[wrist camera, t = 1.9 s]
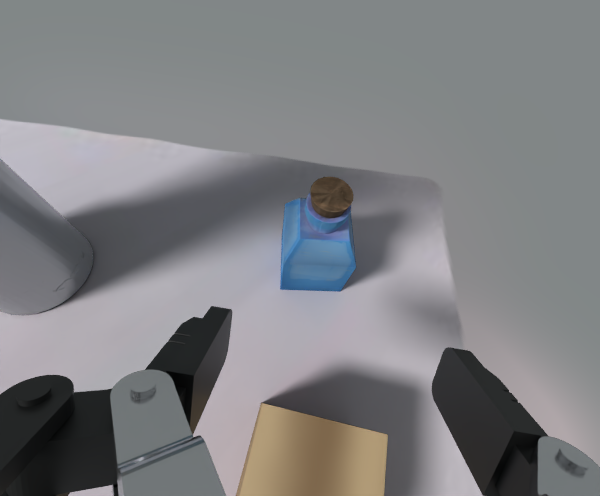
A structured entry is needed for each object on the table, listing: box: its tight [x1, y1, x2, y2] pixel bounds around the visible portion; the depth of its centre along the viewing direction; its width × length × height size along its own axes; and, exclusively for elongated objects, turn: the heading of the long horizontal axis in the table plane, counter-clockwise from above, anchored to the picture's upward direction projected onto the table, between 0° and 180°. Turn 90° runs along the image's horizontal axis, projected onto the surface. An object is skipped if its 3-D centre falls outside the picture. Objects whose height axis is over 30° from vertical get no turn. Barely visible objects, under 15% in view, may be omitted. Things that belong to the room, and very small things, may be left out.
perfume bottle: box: [280, 177, 356, 291], centre depth 27 cm, size 6×6×12 cm
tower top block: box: [240, 403, 388, 496], centre depth 18 cm, size 8×8×4 cm
